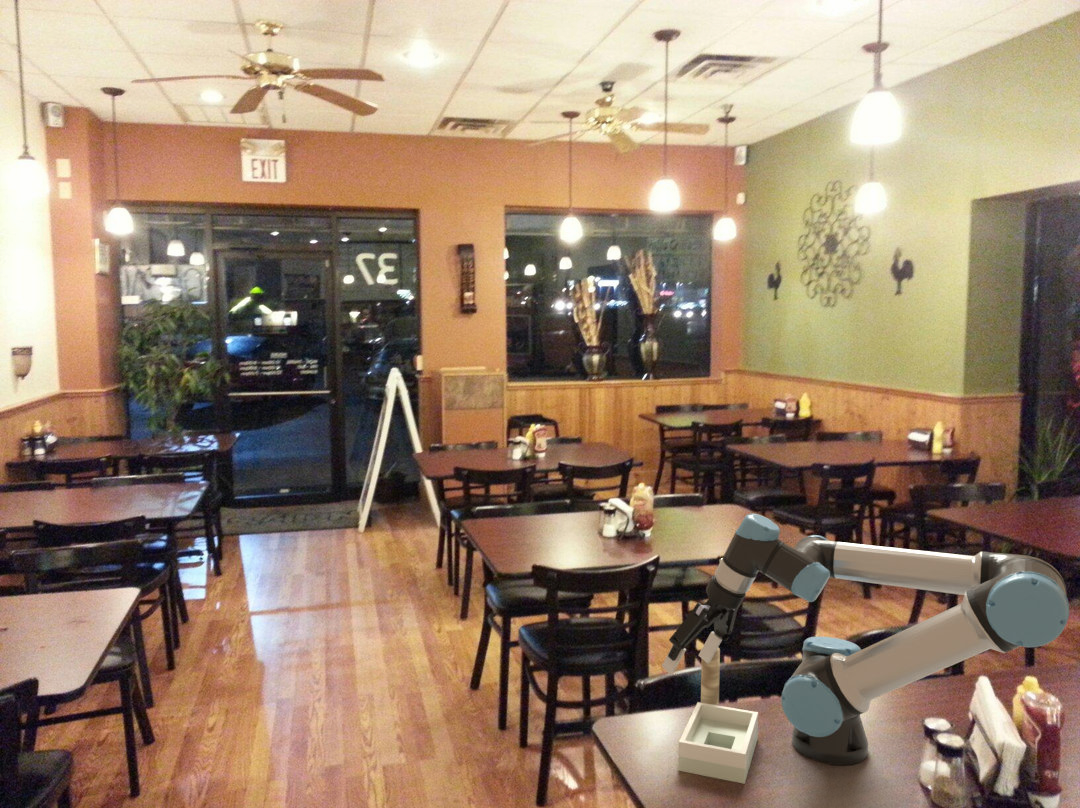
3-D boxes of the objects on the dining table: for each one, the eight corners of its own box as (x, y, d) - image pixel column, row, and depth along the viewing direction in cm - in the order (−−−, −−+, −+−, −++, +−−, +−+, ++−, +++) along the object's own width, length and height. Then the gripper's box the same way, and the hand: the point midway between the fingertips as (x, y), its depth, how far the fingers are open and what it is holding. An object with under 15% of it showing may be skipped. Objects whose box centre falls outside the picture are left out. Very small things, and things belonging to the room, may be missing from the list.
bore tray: (757, 739, 178) (758, 712, 177) (744, 783, 160) (745, 754, 160) (697, 728, 183) (697, 702, 182) (678, 770, 165) (678, 741, 165)
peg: (719, 714, 189) (721, 646, 188) (716, 722, 186) (718, 653, 184) (702, 711, 191) (703, 644, 189) (699, 719, 187) (700, 650, 186)
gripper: (747, 567, 181) (705, 643, 187) (681, 578, 163) (637, 662, 169) (774, 588, 176) (730, 666, 182) (709, 602, 158) (663, 688, 164)
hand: (685, 664), depth 176 cm, fingers open, 13 cm apart
